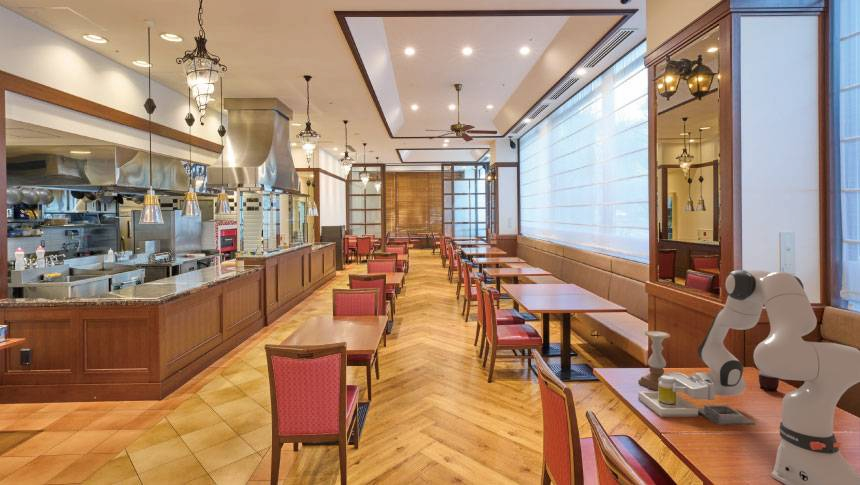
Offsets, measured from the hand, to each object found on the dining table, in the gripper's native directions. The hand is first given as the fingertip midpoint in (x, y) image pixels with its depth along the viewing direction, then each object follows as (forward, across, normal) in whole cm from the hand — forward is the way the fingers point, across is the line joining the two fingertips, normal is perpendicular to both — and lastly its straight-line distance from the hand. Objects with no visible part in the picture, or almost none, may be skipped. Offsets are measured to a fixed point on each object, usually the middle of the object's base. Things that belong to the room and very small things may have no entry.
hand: (665, 384), depth 176 cm
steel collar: (-17, +9, +9) cm, 21 cm away
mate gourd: (-55, -18, +9) cm, 59 cm away
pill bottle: (-1, 0, +8) cm, 8 cm away
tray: (-1, 0, +9) cm, 9 cm away
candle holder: (-9, -24, +9) cm, 27 cm away
